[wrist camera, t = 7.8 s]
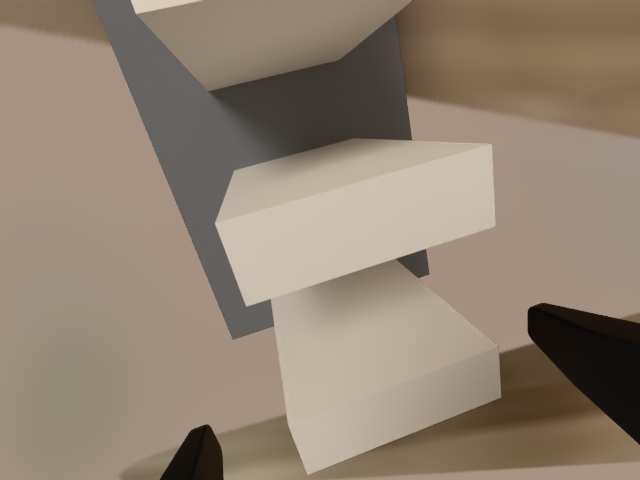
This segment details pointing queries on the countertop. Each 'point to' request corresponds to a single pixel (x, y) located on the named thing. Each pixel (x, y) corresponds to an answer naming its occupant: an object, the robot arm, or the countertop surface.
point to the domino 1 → (260, 34)
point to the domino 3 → (375, 362)
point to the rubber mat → (252, 130)
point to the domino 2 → (350, 209)
